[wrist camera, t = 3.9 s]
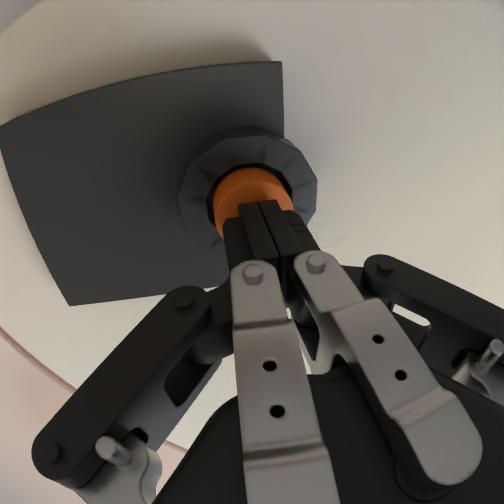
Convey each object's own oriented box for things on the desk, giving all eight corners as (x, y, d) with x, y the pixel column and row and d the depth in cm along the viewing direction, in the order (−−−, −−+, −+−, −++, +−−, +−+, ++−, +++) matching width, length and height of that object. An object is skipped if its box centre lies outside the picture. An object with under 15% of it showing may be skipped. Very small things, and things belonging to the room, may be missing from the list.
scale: (7, 121, 10) (-24, 139, 8) (295, 60, 12) (319, 62, 10) (74, 292, 18) (63, 325, 15) (294, 259, 19) (309, 291, 17)
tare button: (208, 172, 12) (210, 187, 11) (283, 163, 12) (294, 177, 11) (217, 235, 14) (220, 255, 13) (284, 225, 14) (293, 244, 13)
